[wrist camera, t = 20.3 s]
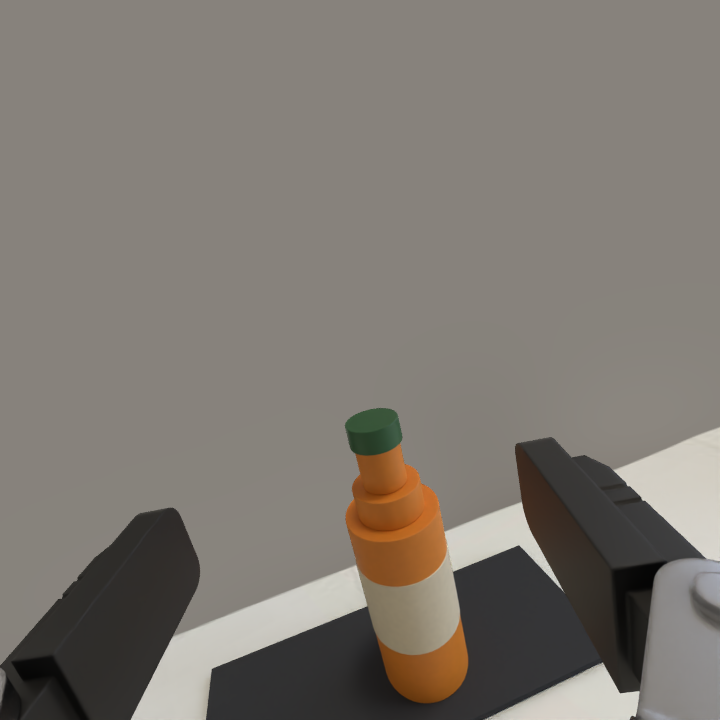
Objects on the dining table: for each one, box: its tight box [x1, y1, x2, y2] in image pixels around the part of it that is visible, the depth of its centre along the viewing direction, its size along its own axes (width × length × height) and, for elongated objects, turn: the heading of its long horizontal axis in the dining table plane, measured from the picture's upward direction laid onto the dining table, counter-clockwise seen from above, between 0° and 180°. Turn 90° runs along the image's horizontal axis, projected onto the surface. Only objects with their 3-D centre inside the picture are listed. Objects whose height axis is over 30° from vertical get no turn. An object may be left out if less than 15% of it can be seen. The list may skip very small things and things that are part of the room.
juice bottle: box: [345, 408, 468, 703], centre depth 25 cm, size 6×6×18 cm
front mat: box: [206, 546, 602, 720], centre depth 27 cm, size 26×10×1 cm, turn 104°
